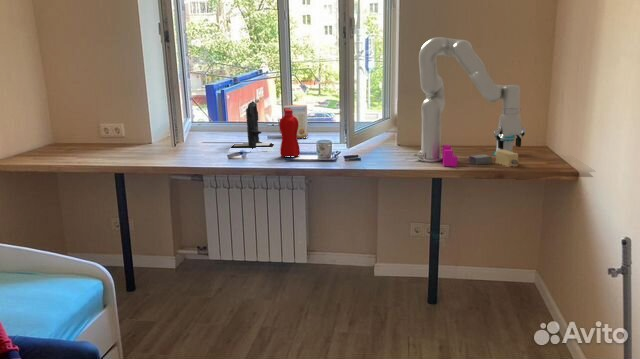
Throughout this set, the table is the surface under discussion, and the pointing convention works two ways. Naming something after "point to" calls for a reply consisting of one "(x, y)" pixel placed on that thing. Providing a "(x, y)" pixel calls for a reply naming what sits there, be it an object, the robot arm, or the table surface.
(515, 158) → the yellow rectangular block
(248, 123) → the black upright stand
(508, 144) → the model tower
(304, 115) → the cracker box
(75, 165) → the table surface
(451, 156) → the toy block
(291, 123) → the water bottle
